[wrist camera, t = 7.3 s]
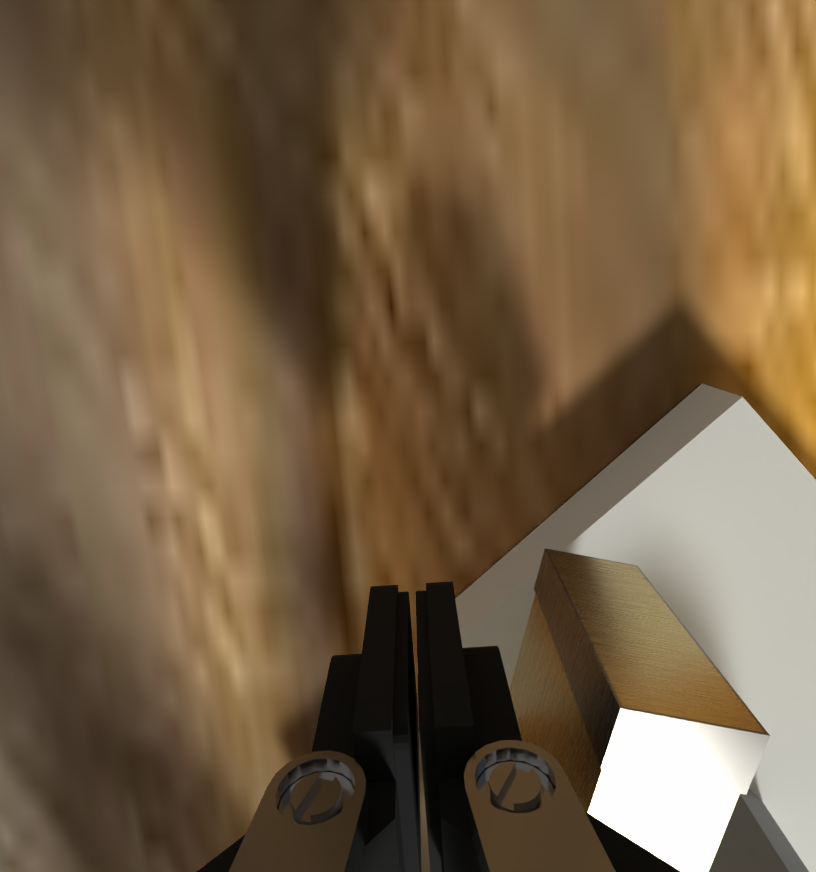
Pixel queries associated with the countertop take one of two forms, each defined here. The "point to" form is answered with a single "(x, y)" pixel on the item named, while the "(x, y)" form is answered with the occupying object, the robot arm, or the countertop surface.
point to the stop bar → (633, 709)
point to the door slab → (704, 591)
